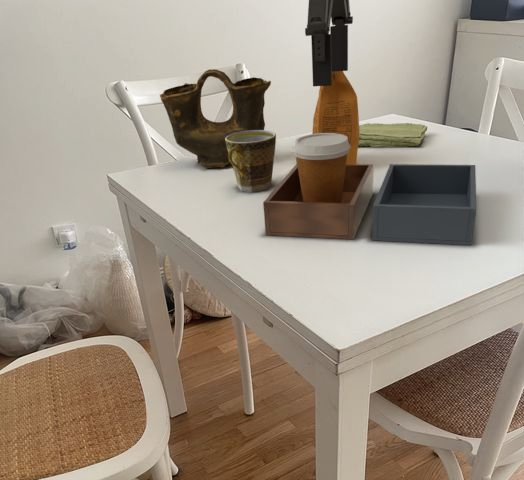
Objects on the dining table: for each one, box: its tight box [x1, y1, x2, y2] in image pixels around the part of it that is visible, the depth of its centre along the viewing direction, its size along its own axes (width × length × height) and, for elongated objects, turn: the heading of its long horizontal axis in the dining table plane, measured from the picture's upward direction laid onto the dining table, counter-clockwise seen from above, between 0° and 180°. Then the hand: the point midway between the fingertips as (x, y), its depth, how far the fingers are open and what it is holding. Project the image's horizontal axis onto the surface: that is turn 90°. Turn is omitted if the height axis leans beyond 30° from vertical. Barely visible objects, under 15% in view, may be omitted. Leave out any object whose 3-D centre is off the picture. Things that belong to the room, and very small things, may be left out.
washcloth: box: [358, 122, 428, 148], centre depth 132 cm, size 13×18×3 cm
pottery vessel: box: [159, 68, 272, 169], centre depth 122 cm, size 25×11×20 cm, turn 89°
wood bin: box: [262, 163, 375, 240], centre depth 94 cm, size 15×22×6 cm
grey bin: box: [371, 163, 477, 246], centre depth 89 cm, size 15×22×6 cm
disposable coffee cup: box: [292, 133, 351, 203], centre depth 92 cm, size 10×10×12 cm
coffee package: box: [312, 71, 360, 164], centre depth 113 cm, size 10×12×22 cm
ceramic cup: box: [225, 129, 277, 193], centre depth 107 cm, size 13×10×10 cm
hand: (331, 78), depth 85 cm, fingers open, 13 cm apart
